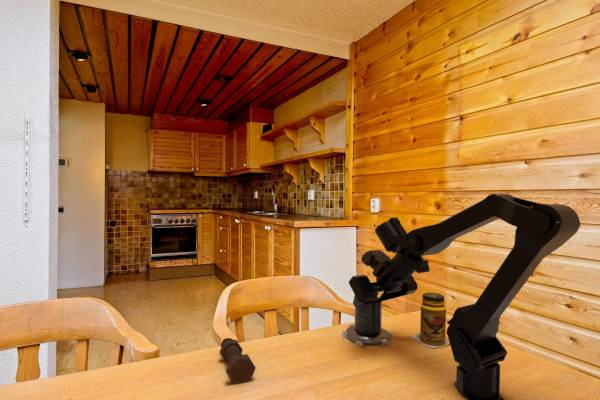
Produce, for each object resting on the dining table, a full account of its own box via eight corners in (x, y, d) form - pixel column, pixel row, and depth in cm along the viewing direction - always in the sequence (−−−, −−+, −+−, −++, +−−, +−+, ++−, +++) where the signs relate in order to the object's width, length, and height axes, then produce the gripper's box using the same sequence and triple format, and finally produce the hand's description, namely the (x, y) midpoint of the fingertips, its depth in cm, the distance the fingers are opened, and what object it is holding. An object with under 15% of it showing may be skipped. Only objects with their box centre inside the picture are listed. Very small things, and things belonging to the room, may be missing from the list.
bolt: (230, 359, 84) (245, 389, 70) (211, 351, 83) (223, 381, 69) (242, 336, 85) (259, 361, 71) (224, 327, 84) (238, 352, 70)
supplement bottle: (368, 325, 98) (369, 282, 98) (386, 334, 93) (387, 288, 92) (349, 330, 95) (349, 285, 94) (367, 339, 89) (367, 291, 89)
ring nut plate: (384, 328, 100) (385, 323, 100) (398, 346, 88) (398, 341, 88) (339, 328, 100) (339, 323, 100) (346, 346, 88) (346, 341, 88)
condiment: (433, 349, 87) (434, 300, 87) (407, 336, 95) (408, 291, 94) (453, 343, 91) (454, 296, 90) (427, 332, 98) (428, 288, 98)
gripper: (409, 238, 94) (378, 272, 103) (354, 243, 84) (326, 280, 94) (434, 274, 87) (399, 307, 97) (377, 283, 77) (344, 319, 87)
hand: (367, 302), depth 94 cm, fingers open, 9 cm apart
